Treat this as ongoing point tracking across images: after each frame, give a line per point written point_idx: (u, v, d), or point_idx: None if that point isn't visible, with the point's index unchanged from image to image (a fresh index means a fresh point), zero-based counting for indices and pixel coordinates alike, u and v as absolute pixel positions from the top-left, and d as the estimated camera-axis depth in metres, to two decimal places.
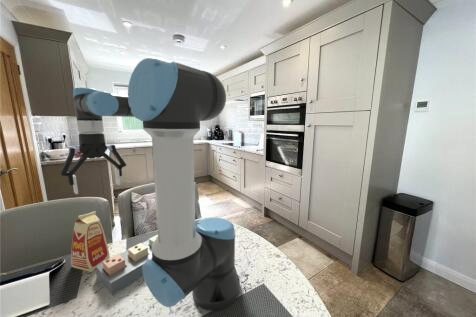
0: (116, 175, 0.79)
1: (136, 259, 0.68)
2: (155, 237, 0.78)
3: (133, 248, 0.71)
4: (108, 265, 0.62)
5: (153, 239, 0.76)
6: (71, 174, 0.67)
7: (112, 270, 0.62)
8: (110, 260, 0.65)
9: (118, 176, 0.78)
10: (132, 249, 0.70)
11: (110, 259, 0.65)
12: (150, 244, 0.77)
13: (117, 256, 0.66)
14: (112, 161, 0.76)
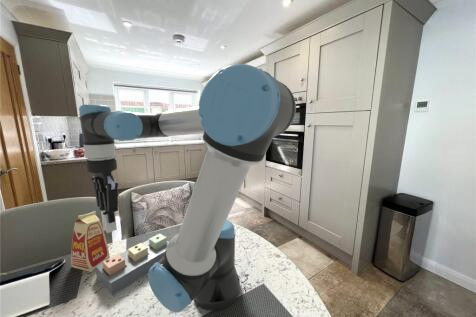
0: None
1: (136, 259, 0.68)
2: (155, 237, 0.78)
3: (133, 248, 0.71)
4: (108, 265, 0.62)
5: (153, 239, 0.76)
6: (100, 208, 0.61)
7: (112, 270, 0.62)
8: (110, 260, 0.65)
9: (105, 222, 0.60)
10: (132, 249, 0.70)
11: (110, 259, 0.65)
12: (150, 244, 0.77)
13: (117, 256, 0.66)
14: (104, 200, 0.59)
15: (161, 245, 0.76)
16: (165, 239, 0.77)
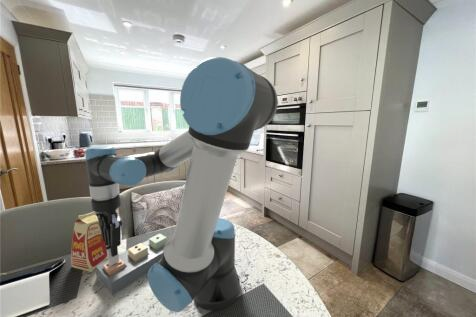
0: None
1: (136, 259, 0.68)
2: (155, 237, 0.78)
3: (133, 248, 0.71)
4: (108, 269, 0.63)
5: (153, 239, 0.76)
6: (105, 243, 0.63)
7: (112, 274, 0.62)
8: None
9: (108, 255, 0.63)
10: (132, 249, 0.70)
11: None
12: (150, 244, 0.77)
13: None
14: (107, 236, 0.61)
15: (161, 245, 0.76)
16: (165, 239, 0.77)
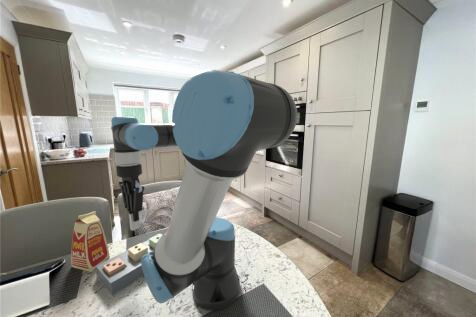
0: None
1: (136, 259, 0.68)
2: (155, 237, 0.78)
3: (133, 248, 0.71)
4: (109, 269, 0.63)
5: (153, 239, 0.76)
6: (127, 209, 0.68)
7: (112, 274, 0.62)
8: (110, 264, 0.65)
9: (130, 220, 0.67)
10: (132, 249, 0.70)
11: (110, 263, 0.65)
12: (150, 244, 0.77)
13: (117, 260, 0.67)
14: (130, 201, 0.66)
15: None
16: None
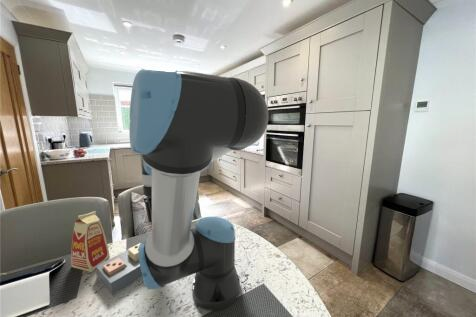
0: None
1: (136, 259, 0.68)
2: None
3: (133, 248, 0.71)
4: (109, 269, 0.63)
5: None
6: (152, 223, 0.76)
7: (112, 274, 0.62)
8: (110, 264, 0.65)
9: None
10: (132, 249, 0.70)
11: (110, 263, 0.65)
12: None
13: (117, 260, 0.67)
14: None
15: None
16: None
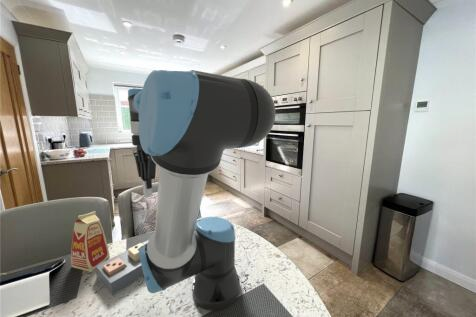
0: None
1: (136, 259, 0.68)
2: None
3: (133, 248, 0.71)
4: (109, 269, 0.63)
5: None
6: (141, 177, 0.73)
7: (112, 274, 0.62)
8: (110, 264, 0.65)
9: (144, 188, 0.72)
10: (132, 249, 0.70)
11: (110, 263, 0.65)
12: None
13: (117, 260, 0.67)
14: (144, 169, 0.71)
15: None
16: None
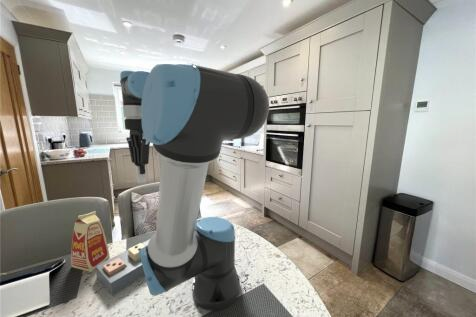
0: None
1: (136, 259, 0.68)
2: None
3: (133, 248, 0.71)
4: (109, 269, 0.63)
5: None
6: (135, 163, 0.72)
7: (112, 274, 0.62)
8: (110, 264, 0.65)
9: (137, 173, 0.72)
10: (132, 249, 0.70)
11: (110, 263, 0.65)
12: None
13: (117, 260, 0.67)
14: (137, 154, 0.70)
15: None
16: None
